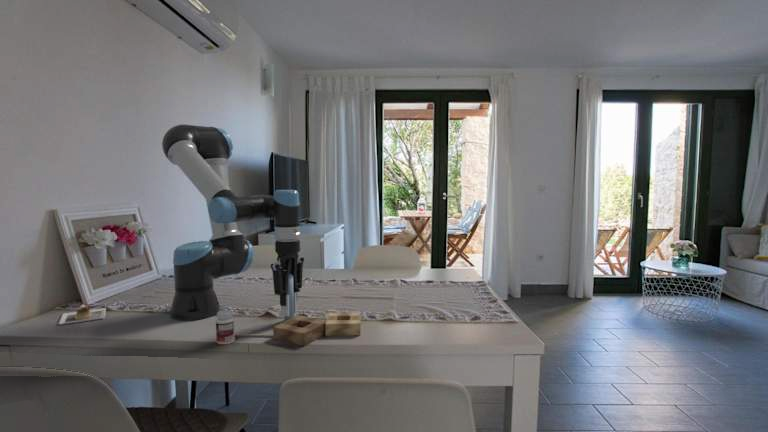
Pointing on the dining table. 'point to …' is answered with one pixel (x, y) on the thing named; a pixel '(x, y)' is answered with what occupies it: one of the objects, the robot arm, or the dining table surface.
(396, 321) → the dining table surface
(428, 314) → the dining table surface
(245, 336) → the thin wooden stick
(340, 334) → the light wood square frame
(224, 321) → the pill bottle
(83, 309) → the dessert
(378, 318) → the dining table surface
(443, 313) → the dining table surface
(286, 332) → the square wooden ring
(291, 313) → the blue-grey peg
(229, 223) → the robot arm
